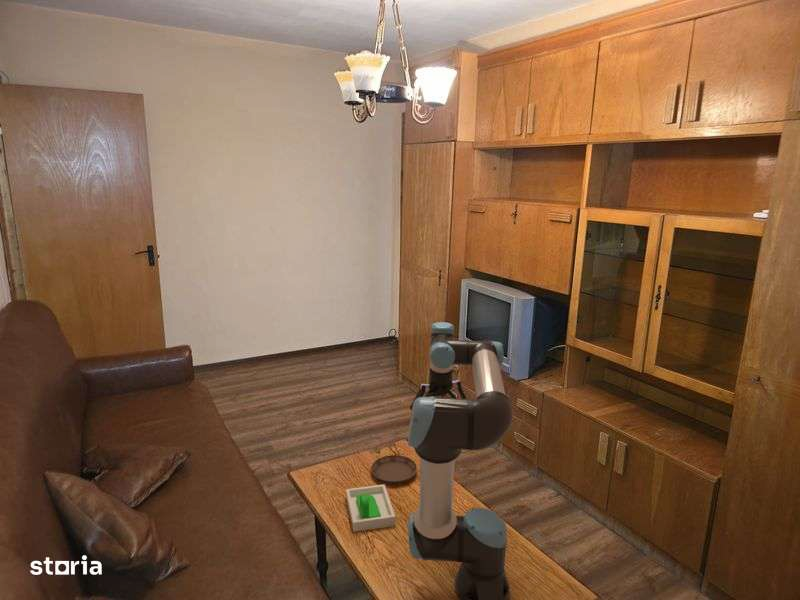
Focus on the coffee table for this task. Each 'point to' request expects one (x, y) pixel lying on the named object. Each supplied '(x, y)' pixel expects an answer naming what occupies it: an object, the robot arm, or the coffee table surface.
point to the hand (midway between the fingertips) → (439, 427)
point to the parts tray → (382, 503)
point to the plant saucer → (394, 469)
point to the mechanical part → (367, 506)
